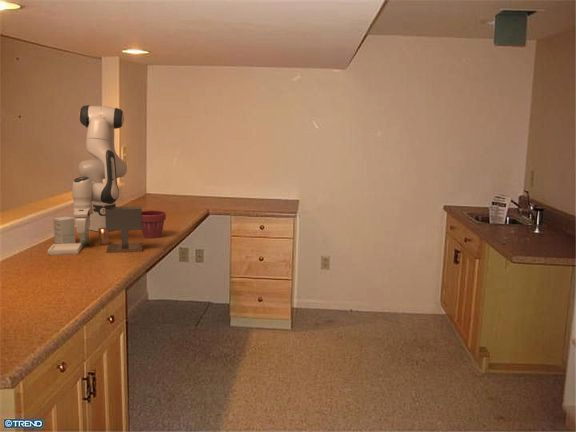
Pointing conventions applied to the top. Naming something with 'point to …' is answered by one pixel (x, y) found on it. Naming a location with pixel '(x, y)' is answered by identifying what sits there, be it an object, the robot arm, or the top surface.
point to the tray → (65, 249)
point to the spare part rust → (103, 236)
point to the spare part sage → (86, 241)
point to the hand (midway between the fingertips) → (84, 238)
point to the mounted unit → (124, 226)
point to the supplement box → (64, 230)
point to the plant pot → (153, 223)
